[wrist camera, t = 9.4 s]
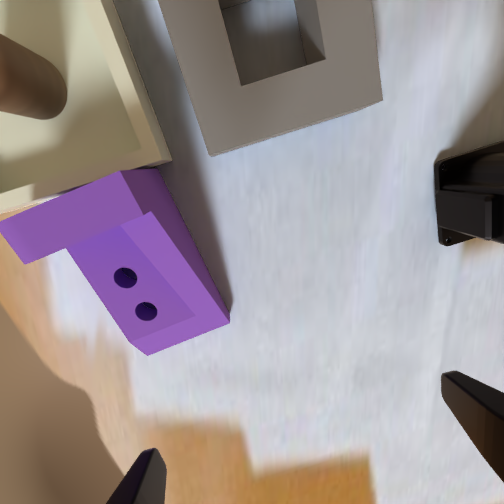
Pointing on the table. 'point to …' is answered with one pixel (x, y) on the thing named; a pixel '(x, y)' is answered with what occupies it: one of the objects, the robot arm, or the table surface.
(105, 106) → the tray
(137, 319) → the bracket
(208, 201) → the table surface
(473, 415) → the robot arm
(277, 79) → the holder
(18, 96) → the peg
